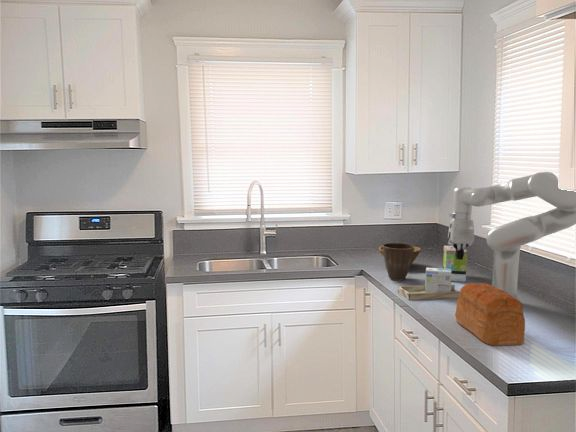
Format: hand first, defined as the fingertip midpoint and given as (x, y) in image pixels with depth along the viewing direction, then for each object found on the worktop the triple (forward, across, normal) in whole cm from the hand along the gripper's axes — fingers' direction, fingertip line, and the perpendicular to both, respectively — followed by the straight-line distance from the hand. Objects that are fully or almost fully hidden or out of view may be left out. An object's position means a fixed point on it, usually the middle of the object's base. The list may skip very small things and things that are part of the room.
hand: (459, 258), depth 231 cm
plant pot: (+16, -16, +30) cm, 37 cm away
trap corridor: (+15, -12, 0) cm, 19 cm away
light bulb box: (+15, -9, 0) cm, 18 cm away
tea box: (+16, +12, +28) cm, 34 cm away
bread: (+15, -13, -48) cm, 52 cm away
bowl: (+16, -5, +56) cm, 58 cm away
